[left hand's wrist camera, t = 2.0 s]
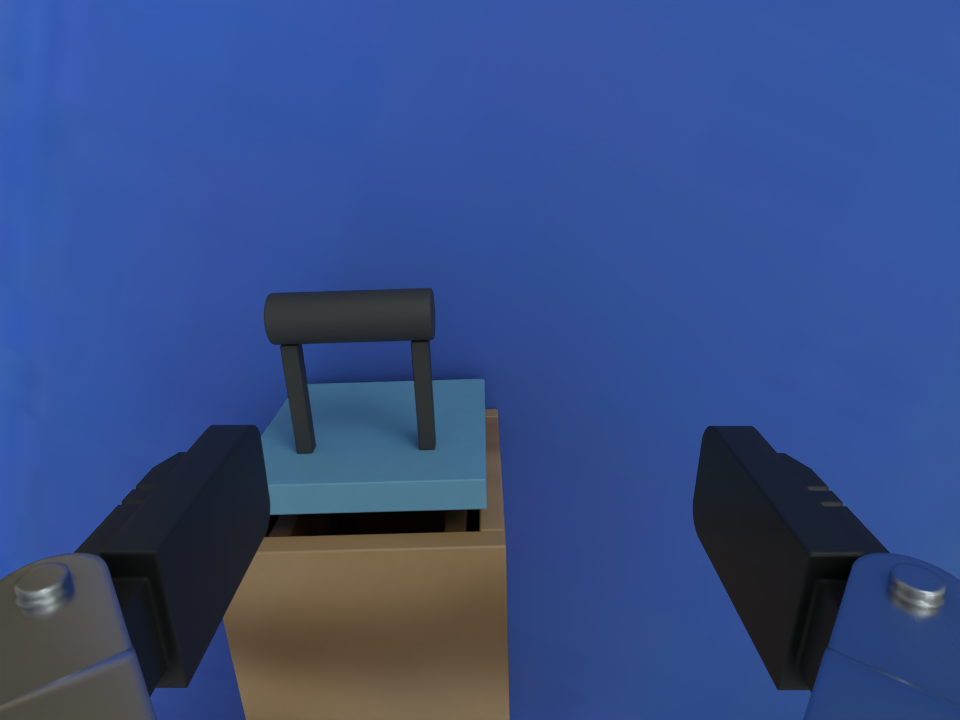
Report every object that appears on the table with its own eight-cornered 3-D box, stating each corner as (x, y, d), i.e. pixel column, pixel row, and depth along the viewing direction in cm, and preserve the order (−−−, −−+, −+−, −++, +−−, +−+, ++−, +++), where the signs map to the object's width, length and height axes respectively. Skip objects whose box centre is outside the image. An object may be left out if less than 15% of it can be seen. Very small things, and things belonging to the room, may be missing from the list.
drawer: (277, 257, 27) (189, 315, 19) (480, 250, 27) (480, 306, 19) (343, 698, 36) (303, 867, 28) (494, 695, 36) (498, 863, 28)
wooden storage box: (295, 414, 31) (207, 554, 21) (497, 408, 31) (506, 545, 21) (342, 724, 38) (294, 936, 28) (505, 720, 38) (514, 931, 28)
